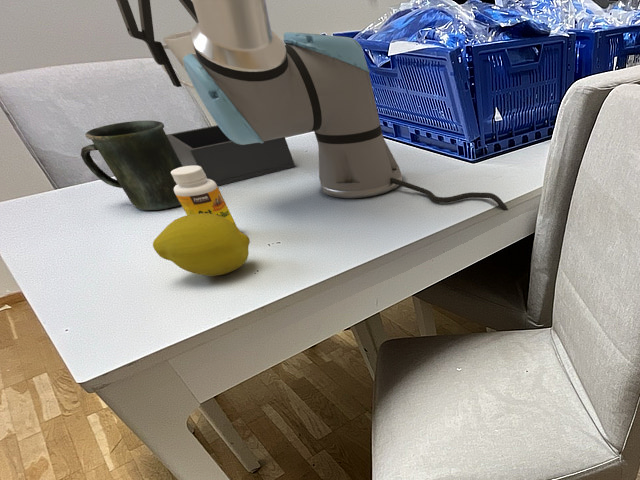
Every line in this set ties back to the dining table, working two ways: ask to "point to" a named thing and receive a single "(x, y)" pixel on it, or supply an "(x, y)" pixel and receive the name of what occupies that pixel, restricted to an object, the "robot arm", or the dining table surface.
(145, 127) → the mug
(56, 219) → the dining table surface
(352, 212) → the dining table surface
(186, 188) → the supplement bottle
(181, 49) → the cup
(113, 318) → the dining table surface
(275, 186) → the dining table surface
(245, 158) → the bin
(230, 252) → the lemon
